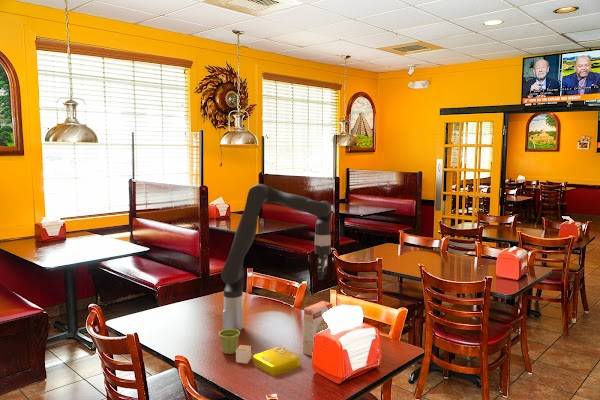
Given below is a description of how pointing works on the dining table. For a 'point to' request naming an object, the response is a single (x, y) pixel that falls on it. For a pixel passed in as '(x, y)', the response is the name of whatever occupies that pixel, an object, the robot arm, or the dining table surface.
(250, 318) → the dining table surface
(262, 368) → the element tile
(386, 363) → the dining table surface
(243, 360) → the cream brown block
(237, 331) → the plant pot
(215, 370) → the dining table surface
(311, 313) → the cracker box
